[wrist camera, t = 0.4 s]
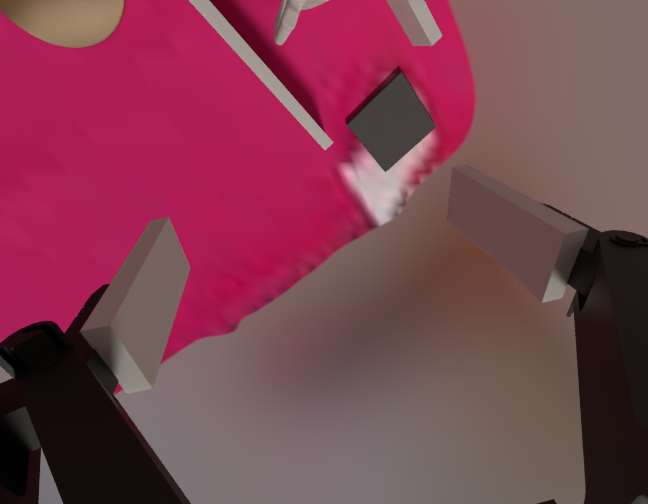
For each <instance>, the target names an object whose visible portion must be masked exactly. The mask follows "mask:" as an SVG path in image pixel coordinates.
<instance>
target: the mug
mask: <svg viewBox="0 0 648 504" xmlns="http://www.w3.org/2000/svg"><path fill="white" fill-rule="evenodd" d="M326 1H329V0H281V5H280V9H279V11H278V14H277V17H276V21H275V26H274V41H275V43H276V44H278V45H282V44H283V43H284V42H285V40H286V39H287V37H288V36H289V34H290V33H291V31H292V30H293V29H294V27H295V25H296V22H297V19H298V16H299V13H300V11H301V10H306V9H310V8H313V7H316V6H318V5H320V4H322V3H324V2H326Z"/></svg>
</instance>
